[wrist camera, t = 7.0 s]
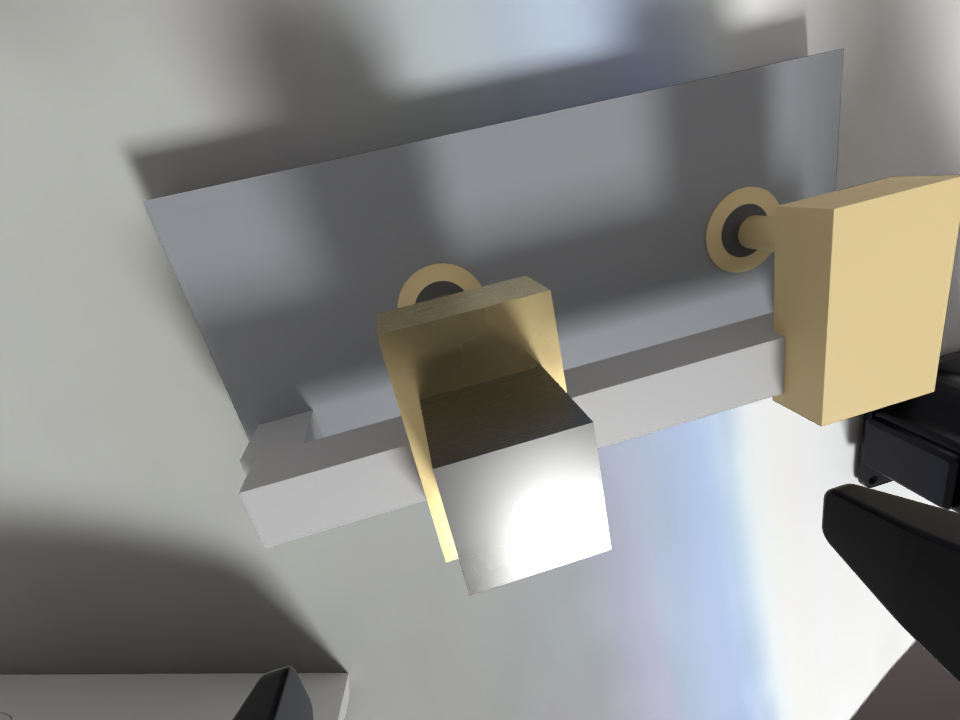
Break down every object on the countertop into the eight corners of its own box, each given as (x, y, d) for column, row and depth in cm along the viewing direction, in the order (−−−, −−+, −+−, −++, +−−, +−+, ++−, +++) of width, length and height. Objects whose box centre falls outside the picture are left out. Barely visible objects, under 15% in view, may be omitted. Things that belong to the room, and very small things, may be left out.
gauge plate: (808, 58, 19) (1064, -18, 12) (798, 347, 23) (980, 415, 16) (163, 199, 16) (-1, 209, 9) (289, 494, 20) (244, 651, 13)
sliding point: (491, 255, 17) (608, 324, 8) (524, 418, 19) (641, 604, 11) (377, 283, 16) (376, 388, 8) (425, 447, 19) (464, 664, 10)
